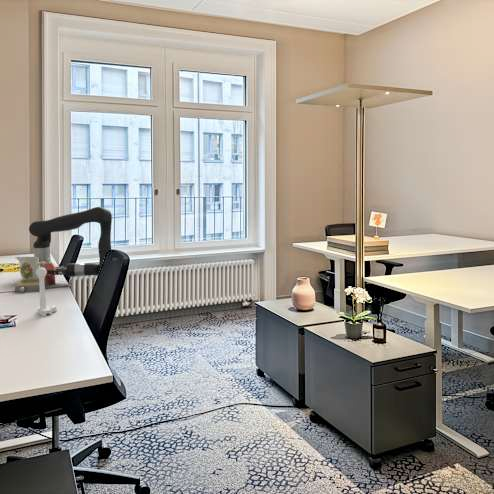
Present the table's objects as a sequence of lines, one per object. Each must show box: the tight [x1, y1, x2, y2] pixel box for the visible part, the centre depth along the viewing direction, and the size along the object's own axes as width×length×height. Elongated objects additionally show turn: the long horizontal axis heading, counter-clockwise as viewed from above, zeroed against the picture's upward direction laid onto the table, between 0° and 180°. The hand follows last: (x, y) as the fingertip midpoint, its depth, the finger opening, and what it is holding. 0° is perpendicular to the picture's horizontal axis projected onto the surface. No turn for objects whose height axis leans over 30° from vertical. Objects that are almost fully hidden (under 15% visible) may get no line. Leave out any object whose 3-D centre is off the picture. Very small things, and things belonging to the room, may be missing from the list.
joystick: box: [36, 267, 57, 317], centre depth 221 cm, size 11×8×20 cm
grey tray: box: [14, 278, 49, 293], centre depth 270 cm, size 16×14×4 cm
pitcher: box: [14, 256, 45, 280], centre depth 295 cm, size 11×18×14 cm, turn 93°
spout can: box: [43, 258, 56, 286], centre depth 284 cm, size 6×6×15 cm
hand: (44, 271), depth 284 cm, fingers closed on spout can, 5 cm apart
